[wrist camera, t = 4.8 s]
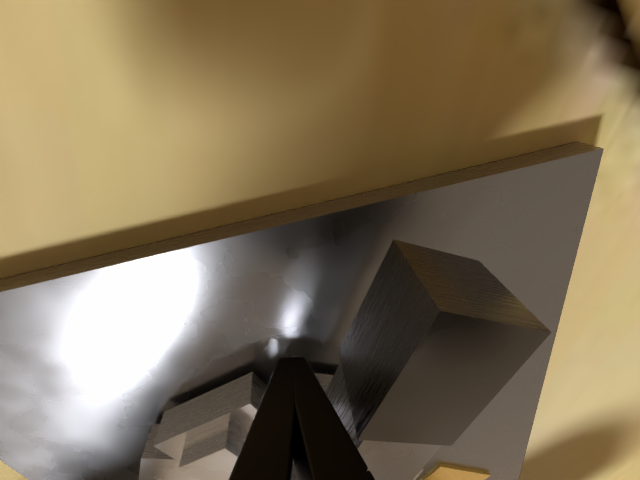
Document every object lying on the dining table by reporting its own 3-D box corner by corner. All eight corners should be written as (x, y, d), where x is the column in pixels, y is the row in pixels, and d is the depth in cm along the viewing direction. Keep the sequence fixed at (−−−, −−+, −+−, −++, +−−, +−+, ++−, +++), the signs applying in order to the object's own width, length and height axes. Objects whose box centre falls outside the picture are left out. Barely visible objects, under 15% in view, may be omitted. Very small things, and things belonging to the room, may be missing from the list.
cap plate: (175, 560, 24) (161, 629, 21) (-145, 313, 11) (-298, 405, 8) (505, 480, 24) (537, 538, 21) (578, 141, 11) (686, 170, 8)
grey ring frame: (355, 516, 21) (375, 632, 17) (139, 516, 18) (95, 662, 13) (558, 255, 12) (718, 364, 8) (191, 153, 8) (106, 245, 4)
